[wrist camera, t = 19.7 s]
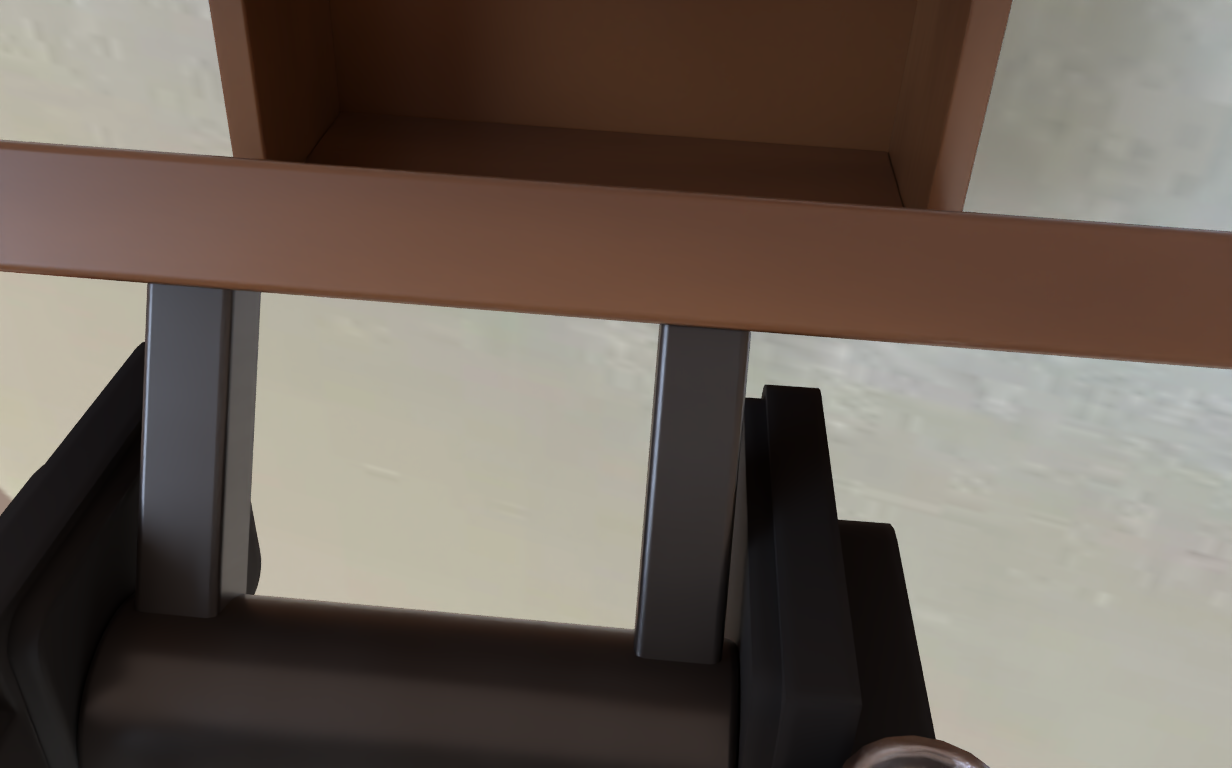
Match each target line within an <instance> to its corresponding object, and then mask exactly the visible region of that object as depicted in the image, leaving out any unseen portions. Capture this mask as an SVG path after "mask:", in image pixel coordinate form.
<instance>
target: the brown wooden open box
mask: <svg viewBox="0 0 1232 768" xmlns="http://www.w3.org/2000/svg"><path fill="white" fill-rule="evenodd" d="M1012 1H1013V0H209V5H210V12H211V18H212V24H213V31H214V37H215V43H216V50H217V56H218V62H219V69H220V75H221V81H222V88H223V94H224V100H225V107H226V113H227V119H228V126H229V132H230V139H231V145H232V151H233V157H237V158H251V159H264V160H278V161H291V162H304V163H318V164H331V165H344V166H358V167H371V168H385V169H398V170H411V171H425V172H438V173H452V174H465V175H478V176H492V177H505V178H518V179H532V180H545V181H559V182H572V183H585V184H599V185H612V186H626V187H639V188H652V189H666V190H679V191H692V192H706V193H719V194H733V195H746V196H759V197H773V198H786V199H800V200H813V201H826V202H840V203H853V204H866V205H880V206H893V207H907V208H920V209H933V210H947V211H960V212H962V211H963V207H964V202H965V198H966V194H967V190H968V186H969V181H970V177H971V173H972V169H973V165H974V160H975V156H976V152H977V148H978V144H979V139H980V135H981V131H982V127H983V123H984V118H985V114H986V110H987V106H988V101H989V97H990V93H991V89H992V85H993V80H994V76H995V72H996V68H997V64H998V59H999V55H1000V51H1001V47H1002V43H1003V38H1004V34H1005V30H1006V26H1007V22H1008V17H1009V13H1010V9H1011V5H1012Z"/></svg>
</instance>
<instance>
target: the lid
mask: <svg viewBox="0 0 1232 768" xmlns="http://www.w3.org/2000/svg"><path fill="white" fill-rule="evenodd" d="M0 271H3V272H16V273H28V274H41V275H53V276H66V277H78V278H91V279H104V280H116V281H129V282H141V283H148V284H147V308H146V334H145V359H144V384H143V410H142V435H141V460H140V486H139V511H138V536H137V562H136V587H135V593H134V594H133V595H131V596H130V597H129V598H128V599H127V600H126V601H125V602H123V603H122V605H121V606H120V607H119V608H118V610H117V611H116V612H115V614H114V615H113V617H112V618H111V620H110V621H109V623H108V625H107V627H106V629H105V631H104V632H103V635H102V637H101V639H100V641H99V643H98V646H97V648H96V651H95V653H94V656H93V659H92V661H91V665H90V668H89V671H88V674H87V678H86V682H85V686H84V690H83V695H82V700H81V706H80V713H79V721H78V735H77V752H78V764H79V768H738V756H739V732H740V667H739V656H738V650H737V647H736V644H735V642H734V641H732V640H730V639H728V638H724V631H725V620H726V609H727V597H728V586H729V575H730V563H731V552H732V541H733V530H734V518H735V507H736V496H737V485H738V473H739V462H740V451H741V440H742V428H743V417H744V406H745V394H746V383H747V372H748V361H749V349H750V338H751V332H750V331H756V332H769V333H781V334H794V335H806V336H819V337H831V338H844V339H856V340H869V341H882V342H894V343H907V344H919V345H932V346H944V347H957V348H969V349H982V350H994V351H1007V352H1020V353H1032V354H1045V355H1057V356H1070V357H1082V358H1095V359H1107V360H1120V361H1132V362H1145V363H1158V364H1170V365H1183V366H1195V367H1208V368H1220V369H1232V232H1228V231H1214V230H1201V229H1188V228H1174V227H1161V226H1148V225H1134V224H1121V223H1107V222H1094V221H1081V220H1067V219H1054V218H1040V217H1027V216H1014V215H1000V214H987V213H974V212H960V211H947V210H933V209H920V208H907V207H893V206H880V205H866V204H853V203H840V202H826V201H813V200H800V199H786V198H773V197H759V196H746V195H733V194H719V193H706V192H692V191H679V190H666V189H652V188H639V187H626V186H612V185H599V184H585V183H572V182H559V181H545V180H532V179H518V178H505V177H492V176H478V175H465V174H452V173H438V172H425V171H411V170H398V169H385V168H371V167H358V166H344V165H331V164H318V163H304V162H291V161H278V160H264V159H251V158H237V157H224V156H211V155H197V154H184V153H170V152H157V151H144V150H130V149H117V148H104V147H90V146H77V145H63V144H50V143H37V142H23V141H10V140H0ZM261 292H267V293H279V294H292V295H304V296H317V297H329V298H342V299H355V300H367V301H380V302H392V303H405V304H417V305H430V306H442V307H455V308H467V309H480V310H493V311H505V312H518V313H530V314H543V315H555V316H568V317H580V318H593V319H605V320H618V321H631V322H643V323H656V324H660V326H659V337H658V350H657V362H656V374H655V387H654V399H653V411H652V424H651V436H650V448H649V461H648V473H647V485H646V497H645V510H644V522H643V534H642V547H641V559H640V571H639V584H638V596H637V608H636V621H635V629H624V628H613V627H602V626H591V625H580V624H569V623H558V622H547V621H536V620H525V619H514V618H503V617H492V616H481V615H470V614H459V613H448V612H437V611H426V610H415V609H404V608H393V607H382V606H371V605H360V604H349V603H338V602H327V601H316V600H305V599H294V598H283V597H272V596H261V595H250V594H246V586H247V565H248V545H249V524H250V503H251V483H252V462H253V442H254V421H255V401H256V380H257V360H258V339H259V318H260V298H261Z"/></svg>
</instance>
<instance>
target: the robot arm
mask: <svg viewBox="0 0 1232 768" xmlns="http://www.w3.org/2000/svg"><path fill="white" fill-rule="evenodd" d="M144 359H145V342H142V343H141V344H140V345H139V346H138V347H137V348H136V349H135V350H134V352H133V353H132V354H131V355H130V357H129V358H128V359H127V360H126V362H125V363H124V364H123V366H122V367H121V368H120V369H119V371H118V372H117V373H116V374H115V376H114V377H113V378H112V380H111V381H110V382H109V383H108V385H107V386H106V387H105V388H104V390H103V391H102V392H101V393H100V395H99V396H98V397H97V399H96V400H95V401H94V402H93V404H92V405H91V406H90V407H89V409H88V410H87V411H86V412H85V414H84V415H83V416H82V418H81V419H80V420H79V421H78V423H77V424H76V425H75V426H74V428H73V429H72V430H71V432H70V433H69V434H68V435H67V437H66V438H65V439H64V440H63V442H62V443H61V444H60V445H59V447H58V448H57V449H56V451H55V452H54V453H53V454H52V456H51V457H50V458H49V459H48V461H47V462H46V463H45V464H44V465H43V466H42V467H41V468H40V469H39V470H37V471H36V472H35V473H34V474H33V475H32V476H31V478H30V479H29V480H28V481H27V483H26V484H25V485H24V487H23V488H22V489H21V490H20V492H19V493H18V494H17V495H16V497H15V498H14V499H13V500H12V502H11V503H10V504H9V505H8V507H7V508H6V509H5V511H4V512H3V513H2V514H1V516H0V768H79V764H78V752H77V735H78V721H79V713H80V706H81V700H82V695H83V690H84V686H85V682H86V678H87V674H88V671H89V668H90V665H91V661H92V659H93V656H94V653H95V651H96V648H97V646H98V643H99V641H100V639H101V637H102V635H103V632H104V631H105V629H106V627H107V625H108V623H109V621H110V620H111V618H112V617H113V615H114V614H115V612H116V611H117V610H118V608H119V607H120V606H121V605H122V603H123V602H125V601H126V600H127V599H128V598H129V597H130V596H131V595H133V594H134V593H135V587H136V562H137V536H138V511H139V486H140V460H141V435H142V410H143V384H144ZM260 571H261V554H260V548H259V543H258V538H257V532H256V527H255V521H254V516H253V511H252V505H251V503H250V524H249V545H248V565H247V586H246V594H250V595H254V594H255V591H256V589H257V586H258V582H259V578H260ZM724 638H728V639H730V640H732V641H734V642H735V644H736V647H737V650H738V656H739V667H740V732H739V756H738V768H990V767H989V766H987V765H986V764H985V763H983V762H982V761H981V760H979V759H978V758H976V757H975V756H974V755H972V754H971V753H969V752H967V751H965V750H962V749H960V748H958V747H956V746H953V745H951V744H949V743H946V742H944V741H941V740H936V738H935V733H934V728H933V723H932V718H931V713H930V707H929V702H928V697H927V692H926V687H925V682H924V676H923V671H922V666H921V661H920V656H919V651H918V645H917V640H916V635H915V630H914V625H913V620H912V614H911V609H910V604H909V599H908V594H907V589H906V583H905V578H904V573H903V568H902V563H901V558H900V552H899V547H898V542H897V538H896V534H895V531H894V528H893V527H892V526H891V524H888V523H875V522H861V521H848V520H838V517H837V510H836V502H835V495H834V487H833V479H832V472H831V464H830V457H829V449H828V442H827V434H826V427H825V419H824V412H823V404H822V396H821V392H820V389H819V388H806V387H792V386H778V385H765V386H764V388H763V392H762V398H761V399H759V398H745V406H744V417H743V428H742V440H741V451H740V462H739V473H738V485H737V496H736V507H735V518H734V530H733V541H732V552H731V563H730V575H729V586H728V597H727V609H726V620H725V631H724Z"/></svg>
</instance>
